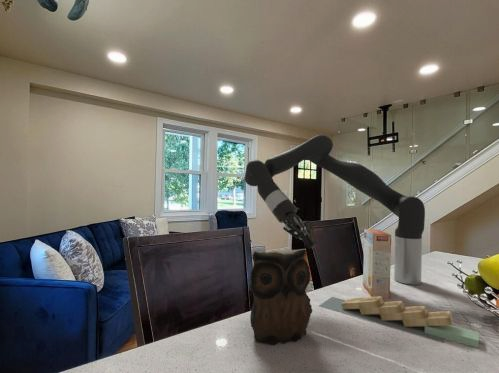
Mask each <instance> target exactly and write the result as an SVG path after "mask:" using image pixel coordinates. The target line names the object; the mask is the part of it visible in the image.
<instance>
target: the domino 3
mask: <svg viewBox="0 0 499 373" xmlns="http://www.w3.org/2000/svg"><path fill="white" fill-rule="evenodd" d="M427 312H428V310H427V307H426V305H419V306H418V305H415V306H404V308H403V310H402V311H401V313H390V314H380V315H381V319H382V321H385V320H410V319H425V317H426V315H427Z"/></svg>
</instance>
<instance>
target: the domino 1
mask: <svg viewBox="0 0 499 373" xmlns="http://www.w3.org/2000/svg"><path fill="white" fill-rule="evenodd" d="M344 300H345V301H344V302H343V303H341V305H342V308H343V309H360V308H379V307H380V305H381V304H382V303H383V302H384V299H383V298H382V296H377V297H371V296H367V297H353V298H346V299H344Z"/></svg>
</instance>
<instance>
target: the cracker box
mask: <svg viewBox="0 0 499 373" xmlns="http://www.w3.org/2000/svg"><path fill="white" fill-rule="evenodd" d="M363 231H364V232H363V233H364V234H363V268H362V269H363V270H362V272H363V273H362V286H363V287H364V289H365V290H366V291H367V292H368V294H369V297H377V296H382V299H383V300H385V299H386V300H390V298H391V266H392V264H391V262H392V261H391V260H392V259H391V258H392V256H391V254H392V234H390V233H388V232H385V231H383V230H381V229H374V228H372V229H371V228H370V229H369V228H368V229H367V228H365V229H364V230H363Z"/></svg>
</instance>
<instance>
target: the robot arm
mask: <svg viewBox="0 0 499 373" xmlns="http://www.w3.org/2000/svg"><path fill="white" fill-rule="evenodd" d="M333 148H334V143H333V141H332V139H331V137H329V136H327V135H326V134H318V135H315V136H313V137H311V138H309V139H308V140H307V141H305V142H303V143H301V144H299V145H297V146H295V147H293V148H291V149H289V150H287V151H284V152H281V153H278V154H276V155H272V156H271V157H269V158H267V159H266V160H265V162H263V161H262V160H259V159H251V160H250V161H248V163H247V165H246V167H245V168H246V169H245V173H244V182H245V183H246V184H247V185H248V186H250V187H257V193H258V194H259V196H260V197H261V199H262V200H263V201H264V203H265V204H266V206H267V209H269V211H271V213H272V214H273V216H274V217H275V219H276V220H277V221H278V222H279V223H280V224H281V223H282V224H284V226H283V227H282V230H284V231H285V232H287V234H290V235H291V236H292V237H294V238H295V239H297V240H298V239H299V240H301V241H303V243H304V244H305V246H306V247H307V248H308V249H313V248H314V247H316V245H317V244H316V242H315V241H314V239H313V238H312V237H311V236H310V233H311V229H310V225H309V223H308V220H304V221H303V220H302V219H301V218H300V216H299V215H297V212H298V208H297V207H296V205H295V204H294V203H293V202H292V201H291V200H290V198H289V197H288V195H286V193H285V192H283V190H281V188H280V187H279V186H278V185H277V183H276V182H275V181H274V177H275V176H277V175H279V174H282V173H284V172H286V171H288V170H291V169H292V168H294V167H296V166H297V165H299V164H300V163H301V162H303V161H304V160H306V159H307V160H308V161H309V162H311V163H313V165H316V166H317V167H319V168H321V169H323V170H326V172H327V171H328V172H329V173H331V174H332V175H334V176H336V177H338V178H339V179H341V180H343V181H344V182H346V183H347V184H348V185H350V186H352V187H353V188H354V189H356V190H357V191H359V192H361V193H362V194H364V195H366V196H368V197H370V199H371V198H372V199H373V200H375V201H376V202H378V203H379V204H381V205H382V206H384V207H385V208H386V209H388V210H389V211H390V212H392V213H393V214H394V215H395V217H398V222H397V223H398V224H397V227H396V228H395V230H394V272H393V273H394V275H393V276H394V281H396V282H399V283H401V284H406V285H412V286H413V285H415V286H416V285H417V286H419V285H421V284H422V268H423V267H422V263H423V262H422V255H423V252H422V250H423V246H422V245H423V244H422V243H423V242H422V240H423V237H422V236H423V233H424V231H425V221H426V220H425V218H426V209H425V208H426V206H425V204H424V203H423V200H422V199H420V198H418V197H416V196H407V195H404V194H402V193H400V192H398V191H396V190H394V189H393V188H391V187H390V186H389V185H387V183H386V182H385V181H384V180H382V178H381V177H380V176H379V175H377V174H376V173H375V172H374V171H372V170H371V169H370V168H367V167H366V166H364V165H362V164H360V163H355V162H349V161H342V160H339V159H338V158H337V159H336V158H335V157H334V156H331V155H330V153H331V152H332V150H333Z"/></svg>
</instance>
